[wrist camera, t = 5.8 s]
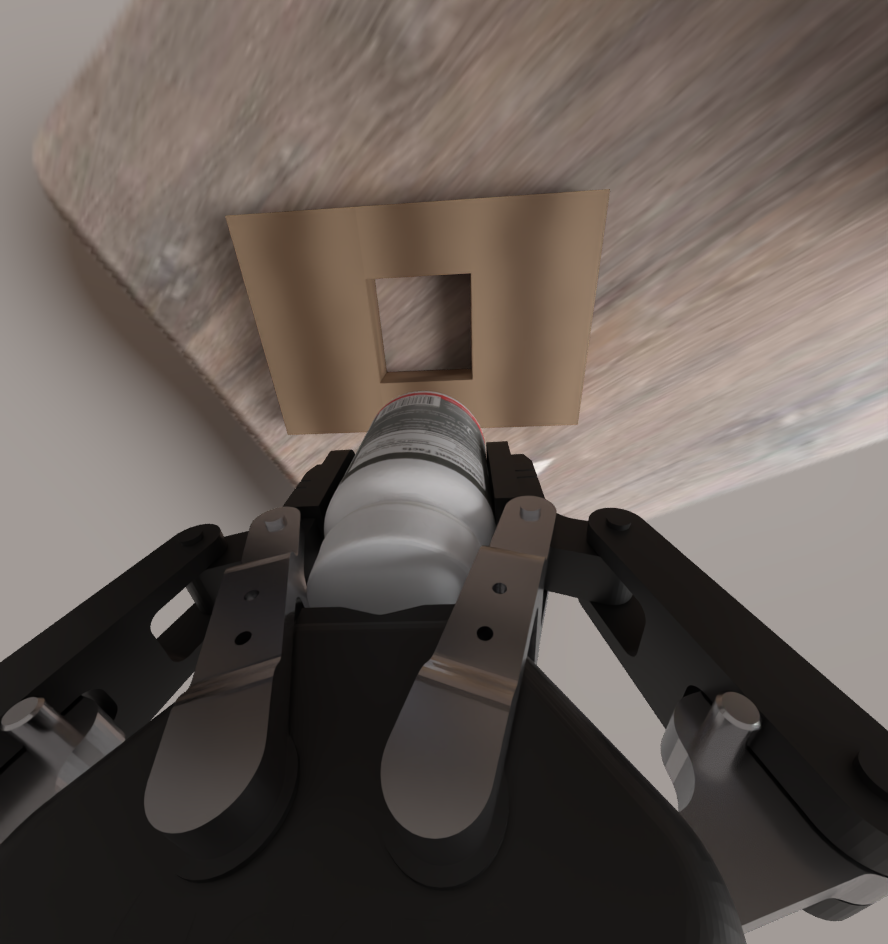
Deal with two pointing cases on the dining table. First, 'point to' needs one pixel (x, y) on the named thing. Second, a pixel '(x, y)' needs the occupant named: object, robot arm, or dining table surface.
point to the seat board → (425, 254)
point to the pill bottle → (407, 510)
